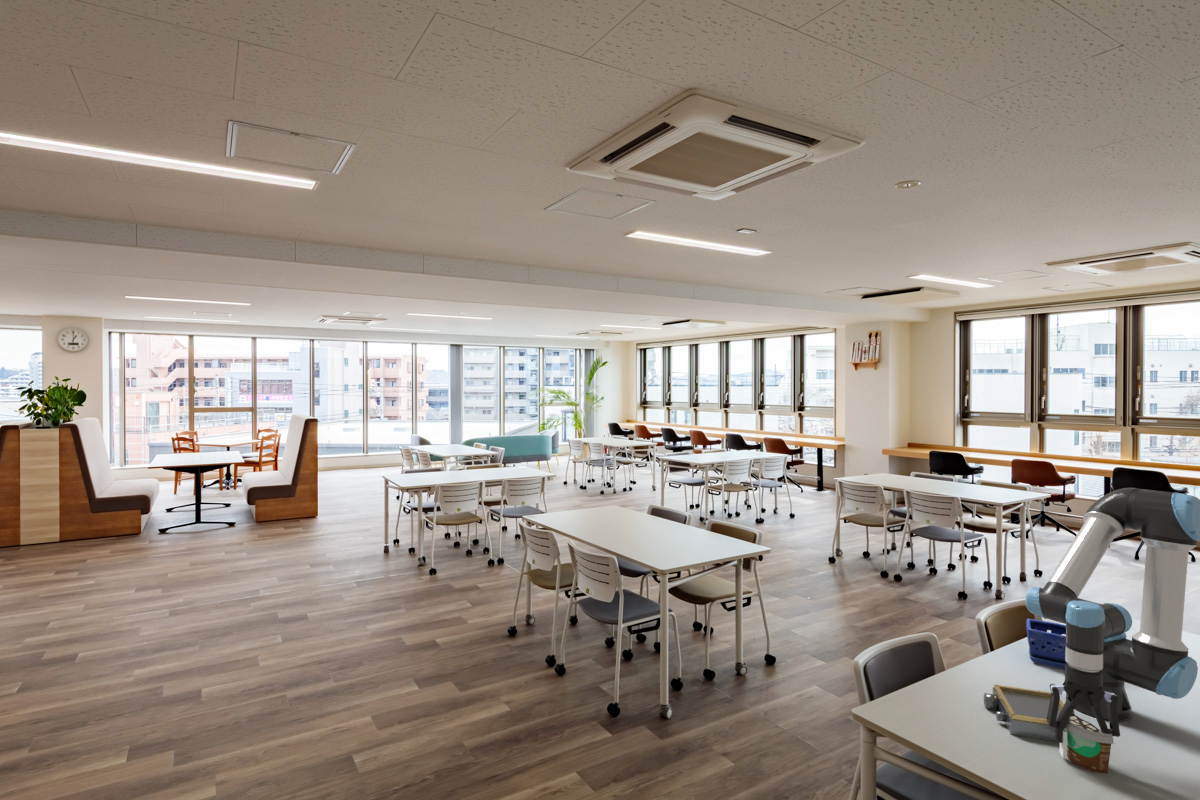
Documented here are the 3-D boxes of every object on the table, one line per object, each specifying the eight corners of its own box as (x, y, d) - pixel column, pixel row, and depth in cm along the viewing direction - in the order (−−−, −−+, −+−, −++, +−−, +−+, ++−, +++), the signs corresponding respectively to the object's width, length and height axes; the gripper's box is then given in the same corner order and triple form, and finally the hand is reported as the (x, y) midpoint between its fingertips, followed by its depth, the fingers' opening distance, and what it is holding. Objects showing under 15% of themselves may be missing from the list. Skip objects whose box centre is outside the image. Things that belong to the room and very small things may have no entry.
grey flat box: (1056, 710, 187) (1056, 692, 186) (1081, 746, 168) (1082, 726, 168) (980, 698, 193) (981, 682, 193) (997, 732, 174) (998, 713, 174)
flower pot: (1071, 659, 222) (1072, 625, 222) (1074, 673, 211) (1075, 637, 211) (1025, 651, 230) (1026, 617, 229) (1026, 664, 218) (1027, 629, 218)
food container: (1048, 748, 166) (1049, 710, 166) (1071, 747, 167) (1072, 709, 166) (1088, 777, 154) (1089, 736, 154) (1112, 776, 154) (1114, 735, 154)
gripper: (1126, 666, 160) (1124, 758, 160) (1031, 654, 167) (1030, 743, 167) (1140, 678, 153) (1138, 775, 153) (1041, 666, 159) (1039, 758, 160)
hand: (1081, 758), depth 160 cm, fingers closed on food container, 7 cm apart
